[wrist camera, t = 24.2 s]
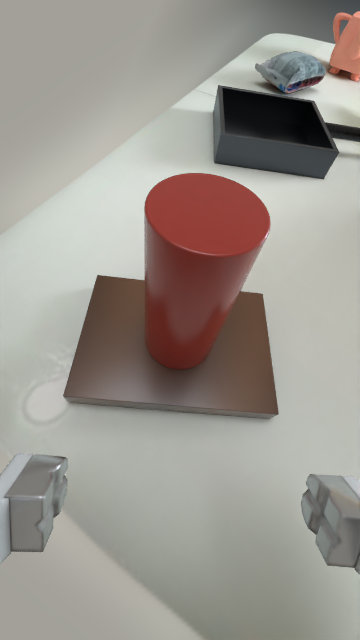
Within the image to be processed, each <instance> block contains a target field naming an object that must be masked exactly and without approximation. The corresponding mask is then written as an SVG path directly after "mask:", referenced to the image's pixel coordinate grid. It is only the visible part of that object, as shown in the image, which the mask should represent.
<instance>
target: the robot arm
mask: <svg viewBox="0 0 360 640" xmlns="http://www.w3.org/2000/svg"><path fill="white" fill-rule="evenodd" d="M67 468H68V459H67V458H66V457H60V456H49V455H39V454H35V455H34V454H25V453H19V454H17V455H15V456H14V457H13V459H12V460H11V461H10V463H9V464H8V465H7V466H6V468H5V469H4V470H3V472H2V473H1V474H0V563H1V562H3V561H4V560H5V559H6V558H7V557H8V556H9V555H10V554H11V551H16V552H17V551H18V552H19V551H20V552H21V551H22V552H43V550H44V548H45V546H46V543H47V541H48V539H49V536H50V534H51V532H52V529H53V518H54V517H55V516H57V515H58V514H59V513H60V511H61V508H62V506H63V503H64V499H65V496H66V491H67V478H66V477H65V475H64V474H65V472H66V470H67ZM306 485H307V487H308V490H307V491H306V492H305V493H304V494H303V496H302V500H301V509H302V514H303V518H304V520H305V523H306V525H307V527H308V528H309V529H310V530H311V531H312V532H313V533H315V534H316V541H315V542H316V544H317V546H318V548H319V550H320V552H321V554H322V556H323V558H324V560H325V562H326V564H327V565H328V566H340V567H352V568H355V570H356V571H357V572H358V573H359V574H360V481H359V480H358V479H357V478H355V477H354V476H334V475H317V474H310V475H309V476H308V477H307V481H306Z"/></svg>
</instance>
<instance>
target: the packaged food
mask: <svg viewBox="0 0 360 640" xmlns="http://www.w3.org/2000/svg"><path fill="white" fill-rule="evenodd" d="M255 68H256V70H257V71H258V72H260V73H261V75H262V76H263V78H264V79H266V80H267V81H268V82H270V83H271V84H273V85H274V86H276V87H277V88H278V89H280V90H281V91H283V92H285V93H291V92H294V91H298V90H302V89H305V88H308V87H311V86H313V85H315V84H318V83H319V82H320V81H321V80H322V79H323V78H324V75H325V68H324V66H323V65H322V64H321V63H320V62H319V61H318V60H317V59H316V58H315V57H313V56H311V55H308V54H305V53H301V52H296V51H295V52H289V53H283V54H280V55H277V56H275V57H273V58H271V59H270V60H267V61H266V62H264V63H263V64H261V65H259V64H256V65H255Z"/></svg>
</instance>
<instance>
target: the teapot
mask: <svg viewBox="0 0 360 640" xmlns="http://www.w3.org/2000/svg"><path fill="white" fill-rule="evenodd" d="M343 19H346V20H348V21H349V23H348V24H347V26H346V27H345V29H344V31H343V32H342V34H341V36H340V37H339V27H340V22H341V20H343ZM333 32H334V38H335V42H336V45H335V47H334V50H333V52H332V55H331V59H330V65H331V66H333V67H332V68H331V69H330V70H329V72H331V73H334V74H338V72H339V71H340V69H342V70H345V71H348V72H351V73H352V74H351V76H350V79H352V80H355V81H359V76H360V11H359V12H356V13H355V14H354V15H353V16H351V15H349V14H346V13H338V14H337V15H336V16H335V18H334V23H333Z"/></svg>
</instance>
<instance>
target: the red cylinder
mask: <svg viewBox="0 0 360 640" xmlns="http://www.w3.org/2000/svg"><path fill="white" fill-rule="evenodd" d="M144 210H145V343H146V347H147V349H148V351H149V353H150V354H151V356H152V357H153V358H154V359H155V360H156V361H157V362H159V363H160V364H162V365H164V366H166V367H169V368H172V369H189V368H192V367H195V366H197V365H199V364H200V363H201V362H203V361H204V360H205V359H206V357H207V356H208V355H209V353H210V351H211V349H212V347H213V345H214V343H215V341H216V339H217V337H218V335H219V333H220V331H221V329H222V327H223V325H224V323H225V321H226V319H227V317H228V315H229V313H230V311H231V309H232V307H233V305H234V303H235V301H236V299H237V297H238V295H239V293H240V291H241V289H242V287H243V285H244V283H245V281H246V279H247V277H248V275H249V273H250V271H251V268H252V266H253V264H254V262H255V260H256V258H257V256H258V254H259V252H260V250H261V248H262V246H263V244H264V242H265V240H266V238H267V236H268V234H269V231H270V216H269V213H268V211H267V208H266V207H265V205H264V204H263V202H262V201H261V200H260V199H259V198H258V197H257V196H256V195H255V194H254V193H253V192H252V191H250V190H249V189H248V188H246V187H244V186H243V185H241V184H239V183H237V182H235V181H232V180H230V179H227V178H224V177H220V176H217V175H211V174H204V173H187V174H180V175H176V176H172V177H169V178H167V179H165V180H163V181H161V182H159V183H158V184H157V185H155V186H154V187H153V188H152V190H151V191H150V192H149V194H148V196H147V198H146V201H145V208H144Z"/></svg>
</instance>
